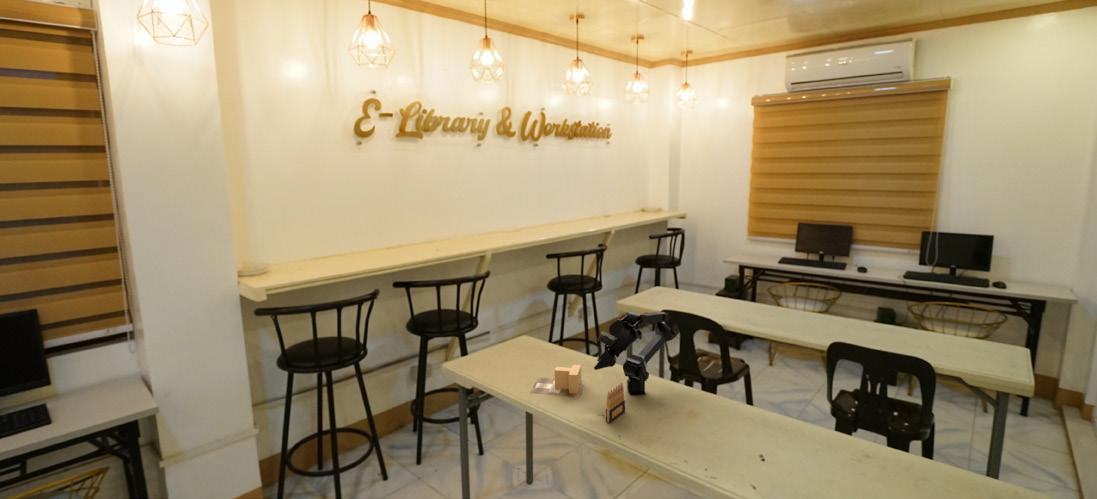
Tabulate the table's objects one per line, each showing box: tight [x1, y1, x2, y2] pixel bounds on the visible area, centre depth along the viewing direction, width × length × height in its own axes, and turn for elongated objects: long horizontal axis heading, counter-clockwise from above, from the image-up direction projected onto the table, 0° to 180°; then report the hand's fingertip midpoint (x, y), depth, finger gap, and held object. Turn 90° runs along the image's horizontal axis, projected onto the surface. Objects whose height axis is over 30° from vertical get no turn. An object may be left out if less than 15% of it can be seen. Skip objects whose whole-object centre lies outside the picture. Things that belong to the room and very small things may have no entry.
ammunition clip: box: [605, 382, 626, 424], centre depth 192 cm, size 11×2×12 cm, turn 140°
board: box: [529, 377, 587, 398], centre depth 217 cm, size 21×15×2 cm
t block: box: [554, 364, 582, 394], centre depth 215 cm, size 10×10×8 cm
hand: (596, 364), depth 211 cm, fingers open, 9 cm apart
